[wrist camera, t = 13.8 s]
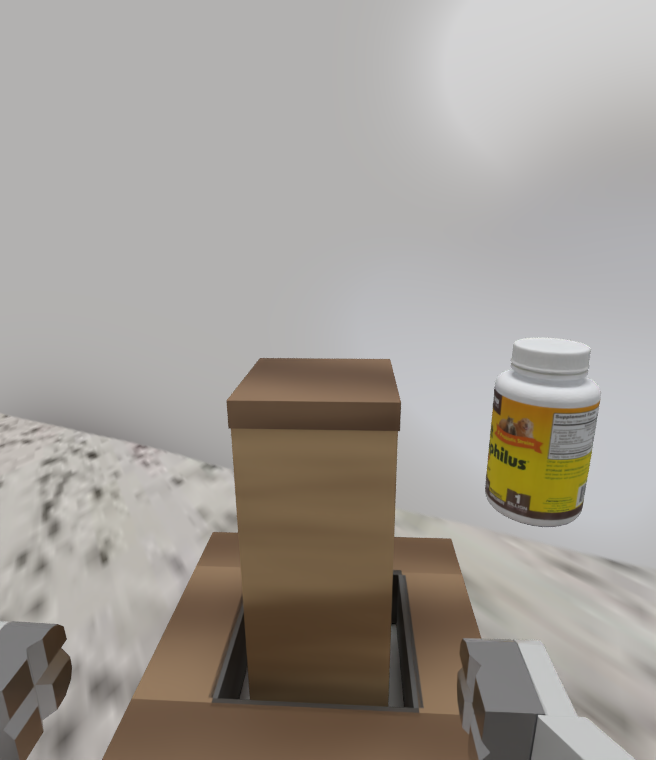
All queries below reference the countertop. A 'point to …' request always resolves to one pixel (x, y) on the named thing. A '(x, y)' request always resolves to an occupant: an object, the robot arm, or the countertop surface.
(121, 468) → the countertop surface
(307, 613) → the peg
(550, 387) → the supplement bottle
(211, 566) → the wooden square frame
